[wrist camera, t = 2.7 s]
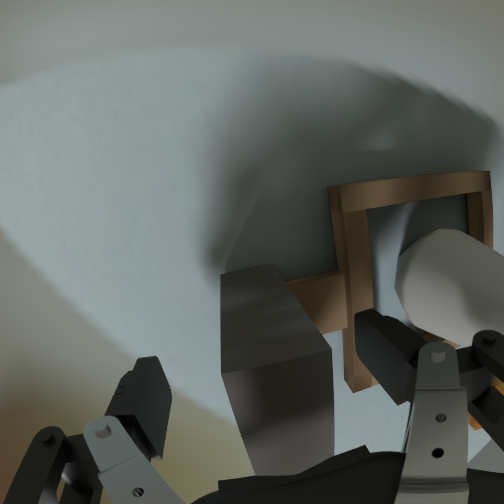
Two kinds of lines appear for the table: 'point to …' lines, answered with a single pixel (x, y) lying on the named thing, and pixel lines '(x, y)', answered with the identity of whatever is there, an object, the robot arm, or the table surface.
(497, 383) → the pastry
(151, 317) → the table surface
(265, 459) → the frame
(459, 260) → the salt shaker
